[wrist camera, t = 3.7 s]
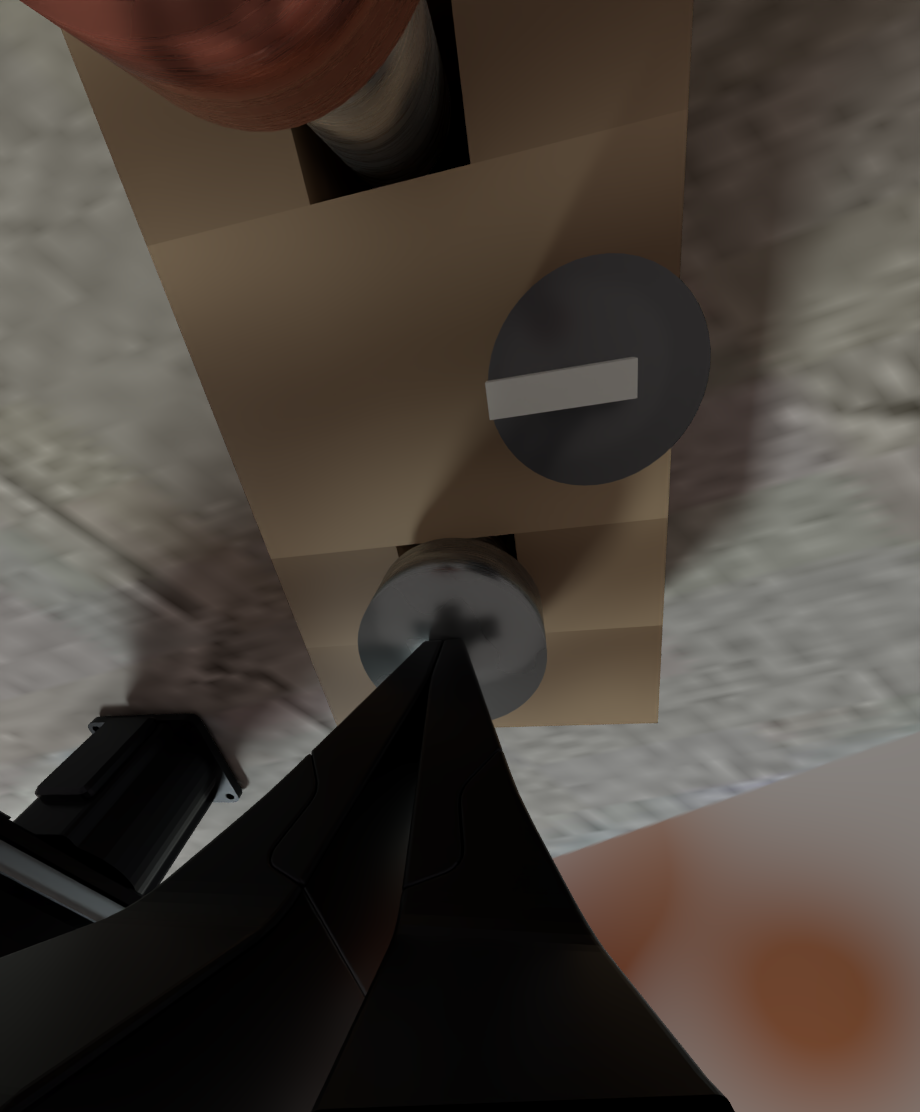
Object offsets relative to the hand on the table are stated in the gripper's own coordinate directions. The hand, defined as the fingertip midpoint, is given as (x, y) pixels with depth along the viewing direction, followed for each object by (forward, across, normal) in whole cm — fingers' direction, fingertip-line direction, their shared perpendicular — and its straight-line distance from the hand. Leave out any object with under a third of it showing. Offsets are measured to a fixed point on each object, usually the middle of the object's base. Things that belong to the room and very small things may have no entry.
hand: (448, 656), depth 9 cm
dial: (+3, -3, -5) cm, 6 cm away
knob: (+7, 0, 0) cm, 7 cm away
